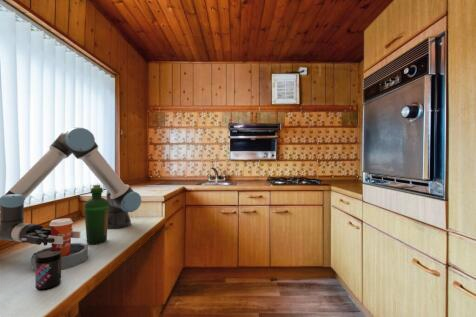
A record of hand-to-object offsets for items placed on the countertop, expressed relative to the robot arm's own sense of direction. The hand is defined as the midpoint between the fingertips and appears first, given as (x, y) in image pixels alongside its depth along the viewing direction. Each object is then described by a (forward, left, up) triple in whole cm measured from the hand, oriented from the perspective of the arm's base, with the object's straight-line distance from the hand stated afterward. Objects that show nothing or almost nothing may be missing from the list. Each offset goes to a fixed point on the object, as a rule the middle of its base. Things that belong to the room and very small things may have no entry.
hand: (71, 237), depth 97 cm
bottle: (-10, -23, -10) cm, 27 cm away
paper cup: (+3, -4, -8) cm, 9 cm away
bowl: (+3, -4, -10) cm, 11 cm away
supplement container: (+5, +17, -10) cm, 21 cm away
